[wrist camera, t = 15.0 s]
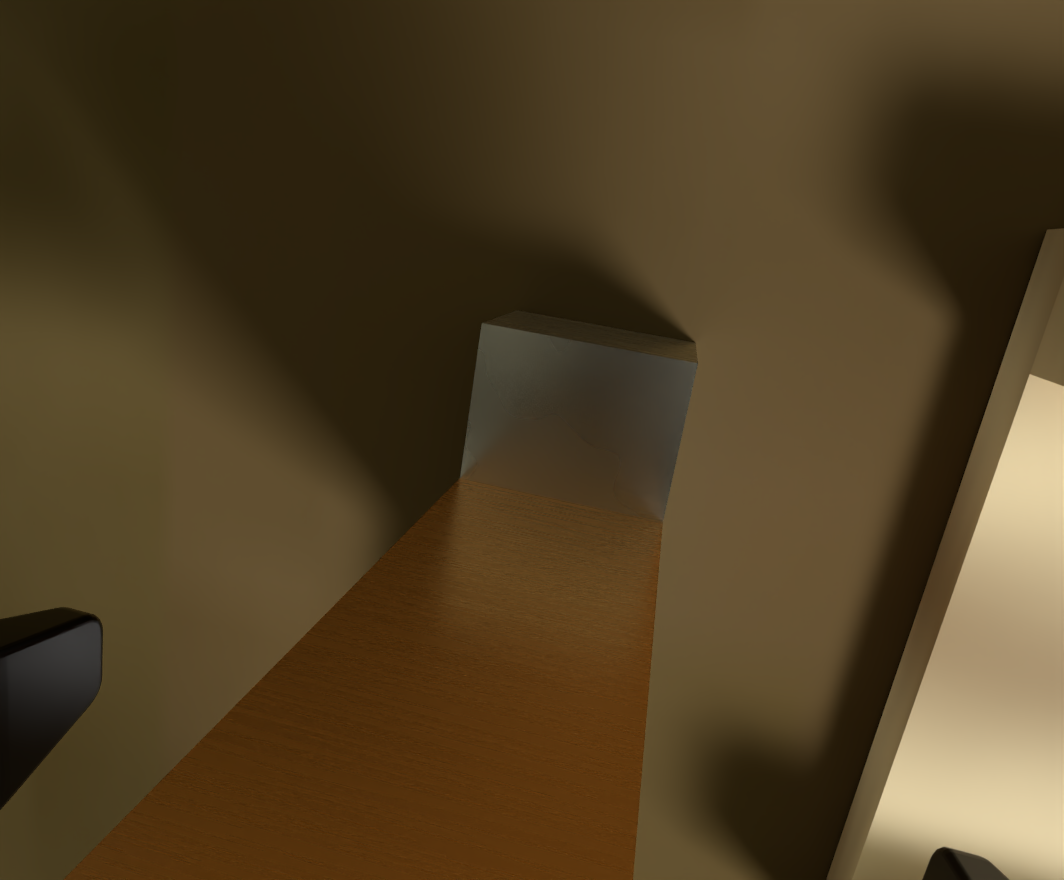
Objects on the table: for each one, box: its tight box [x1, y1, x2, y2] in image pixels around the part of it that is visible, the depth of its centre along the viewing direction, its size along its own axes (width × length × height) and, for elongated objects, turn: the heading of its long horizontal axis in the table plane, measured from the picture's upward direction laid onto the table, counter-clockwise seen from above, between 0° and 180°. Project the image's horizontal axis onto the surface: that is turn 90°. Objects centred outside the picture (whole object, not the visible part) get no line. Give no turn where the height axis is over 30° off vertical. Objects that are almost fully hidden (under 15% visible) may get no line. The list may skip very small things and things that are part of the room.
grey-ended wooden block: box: [64, 310, 698, 880], centre depth 9 cm, size 8×3×10 cm, turn 171°
